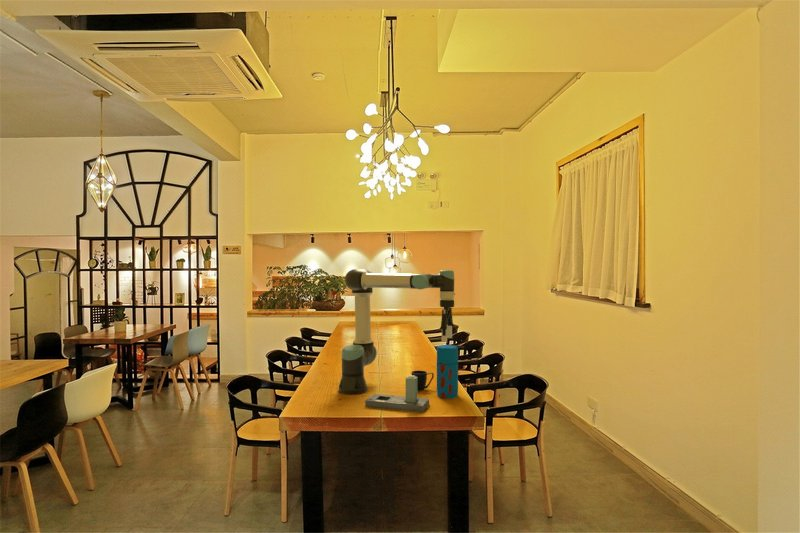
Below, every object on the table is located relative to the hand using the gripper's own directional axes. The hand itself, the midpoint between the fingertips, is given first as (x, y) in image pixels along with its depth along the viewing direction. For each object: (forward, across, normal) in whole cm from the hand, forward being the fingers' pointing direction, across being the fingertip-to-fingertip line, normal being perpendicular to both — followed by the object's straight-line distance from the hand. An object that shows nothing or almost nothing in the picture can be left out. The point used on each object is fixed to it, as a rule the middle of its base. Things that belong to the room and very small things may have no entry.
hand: (446, 339), depth 237 cm
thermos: (+28, -6, -1) cm, 28 cm away
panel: (+28, -30, +18) cm, 44 cm away
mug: (+28, +1, +14) cm, 31 cm away
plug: (+28, -30, +11) cm, 42 cm away
